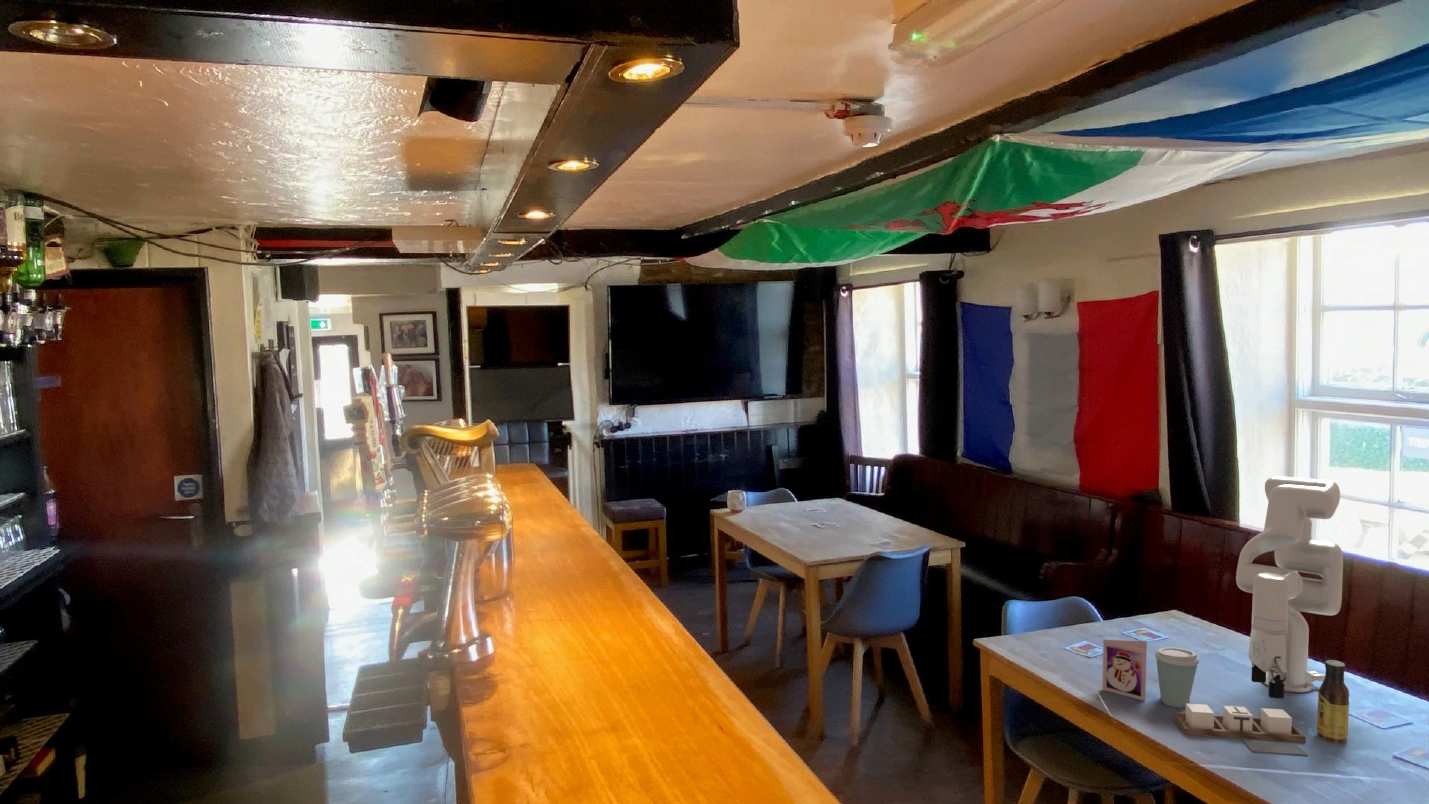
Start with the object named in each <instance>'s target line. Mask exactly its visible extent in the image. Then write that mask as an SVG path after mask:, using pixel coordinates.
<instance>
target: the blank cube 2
mask: <svg viewBox="0 0 1429 804" xmlns="http://www.w3.org/2000/svg"><path fill="white" fill-rule="evenodd" d="M1260 718H1261V726H1260V727H1261V728H1262V729H1263V730H1264V731H1265V733H1278V734H1291V728H1292V724H1293V718H1292V717H1291V716H1290V715H1289V714H1288V712H1286V711H1285V709H1283V708H1282V709H1279V708H1278V709H1277V708H1263V707H1262V708H1260Z"/></svg>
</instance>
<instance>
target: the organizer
mask: <svg viewBox="0 0 1429 804" xmlns="http://www.w3.org/2000/svg"><path fill="white" fill-rule="evenodd" d="M1172 718H1173V719H1174V721H1175V722H1176V724H1177V726H1178V727H1179V728H1180V729H1181V732H1182V733H1184V735H1189V736H1199V737H1200V736H1202V737H1213V738H1214V737H1216V738H1217V737H1218V738H1230V739H1246V740H1261V741H1275V742H1289V743H1301V744H1303V743H1304V744H1306V743H1307V736H1306V735H1305V734H1304V733H1302V731H1301V730H1299V728H1297V727H1296V725H1295V724H1293V723H1292V728H1291V734H1278V733H1265V731H1264V730H1263V729H1262V728H1261V727H1260V726H1261V717H1255V716H1253V721H1252V732H1249V731H1234V730H1227V729H1226V728H1225V727H1224V726H1223V714H1214V729H1205V728H1190V727H1189V726H1188V725H1187V723H1186V722H1185V720H1186V712H1181V711H1180V712H1178V711H1173V712H1172Z"/></svg>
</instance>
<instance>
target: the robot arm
mask: <svg viewBox="0 0 1429 804" xmlns="http://www.w3.org/2000/svg"><path fill="white" fill-rule="evenodd" d="M1264 492H1265V496H1266V499H1267V501H1268V503H1267V509H1266V515H1265V522H1264V526H1263V527H1264V528H1263V531H1261V532H1260V533H1258V534H1256V535H1254V536H1253V537H1252V538H1251V539H1249V540H1248V541H1247V542H1246V544H1244V546H1243V547H1242V549H1241V551H1240V554H1239V557H1238V562H1237V568H1236V572H1235V573H1236V574H1235V575H1236V576H1235V580H1236V581H1235V582H1236V585H1237V588H1239V590H1241V591H1243V592H1245V593H1249V594H1252V602H1251V603H1252V608H1251V609H1252V611H1251V631H1250V638H1249V647H1248V659H1249V661H1251V664H1250V665H1251V681H1252V682H1253V683H1261V684H1263V683H1264V685H1267V686H1268V695H1267V696H1268V697H1269V698H1270V699H1283V700H1284V696H1285V692H1291V693H1308V692H1311V691H1313V689H1314V684H1313V682H1315V681H1317V682H1323V681H1324V679H1325V674H1322V673H1321V674H1320V673H1317V671H1310V670H1308V658H1309V638H1310V637H1309V634H1310V628H1309V624H1308V622H1307V621H1306V618H1305V617H1304V616H1303V615H1302V613H1301V612H1303V613H1308V614H1309V613H1310V614H1314V615H1315V614H1316V615H1323V616H1335V615H1337V614H1339V613H1340V611H1341V607H1342V601H1343V600H1342V599H1343V575H1344V556H1343V555H1344V554H1343V551H1342V548H1341V547H1340V546H1339V544H1337V543H1335V542H1332V541H1328V540H1321V539H1320V540H1318V539H1313V538H1312V529H1313V528H1312V527H1313V523H1312V522H1313V521H1312V520H1311V519H1319V520H1329V519H1331V518H1332V517H1333V516H1334V515H1335V513H1336V511H1337V508H1338V506H1339V504H1340V500H1341V490H1340V487H1339V485H1338V484H1337V482H1335V481H1333V480H1328V479H1319V478H1318V479H1317V478H1307V477H1306V478H1305V477H1297V476H1296V477H1294V476H1273V477H1270V478H1268V479H1266V481H1265V483H1264ZM1269 552H1274V562H1275V564H1276V566H1272V565H1271V566H1270V565H1265V564H1257V563H1252V562H1253V561H1254V560H1255V558H1258V557H1259V556H1260V555H1263V554H1266V553H1269ZM1300 573H1306V574H1312V575H1318V576H1320V577H1321V578H1322V579H1317V578H1310V577H1305V576H1301V574H1300Z"/></svg>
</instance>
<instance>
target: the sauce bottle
mask: <svg viewBox="0 0 1429 804" xmlns="http://www.w3.org/2000/svg"><path fill="white" fill-rule="evenodd" d="M1324 668H1325V674H1324V675H1325V679H1324V681H1322V683H1321V685H1320V687H1319V688H1318V694H1317V715H1316V716H1317V718H1316V730H1317V731H1316V732H1317V734H1316V735H1317V736H1318V737H1319V738H1320V739H1321V740H1324V741H1327V742H1329V743H1334V744H1345V743H1346V742H1347V741H1348V733H1349V732H1348V731H1349V715H1350V714H1349V713H1350V701H1349V699H1350V698H1349V697H1350V690H1349V688H1348V687H1347V685H1346V684H1345V682H1344V681H1345V672H1346V664H1345V662H1342V661H1339V660H1335V659H1328V660H1326V661H1325V662H1324Z"/></svg>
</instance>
